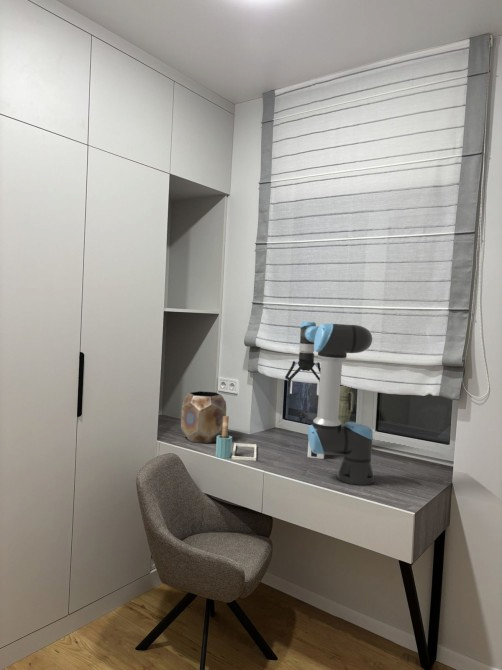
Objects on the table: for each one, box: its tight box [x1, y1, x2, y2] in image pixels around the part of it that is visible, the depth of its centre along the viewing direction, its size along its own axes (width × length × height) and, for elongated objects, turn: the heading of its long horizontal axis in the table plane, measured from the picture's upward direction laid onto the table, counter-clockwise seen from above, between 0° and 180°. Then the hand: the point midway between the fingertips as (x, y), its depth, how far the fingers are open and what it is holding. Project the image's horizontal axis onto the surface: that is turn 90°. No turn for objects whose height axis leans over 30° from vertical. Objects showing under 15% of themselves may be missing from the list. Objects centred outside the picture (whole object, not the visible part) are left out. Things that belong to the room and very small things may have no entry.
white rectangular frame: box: [231, 442, 257, 462], centre depth 244 cm, size 24×11×2 cm, turn 179°
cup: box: [215, 435, 233, 459], centre depth 236 cm, size 7×7×10 cm
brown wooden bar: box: [222, 415, 229, 438], centre depth 237 cm, size 6×3×18 cm, turn 179°
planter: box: [180, 390, 227, 444], centre depth 269 cm, size 22×24×24 cm
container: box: [307, 441, 326, 460], centre depth 249 cm, size 8×8×13 cm
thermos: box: [338, 386, 355, 426], centre depth 265 cm, size 9×12×35 cm
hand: (304, 394), depth 261 cm, fingers open, 13 cm apart
